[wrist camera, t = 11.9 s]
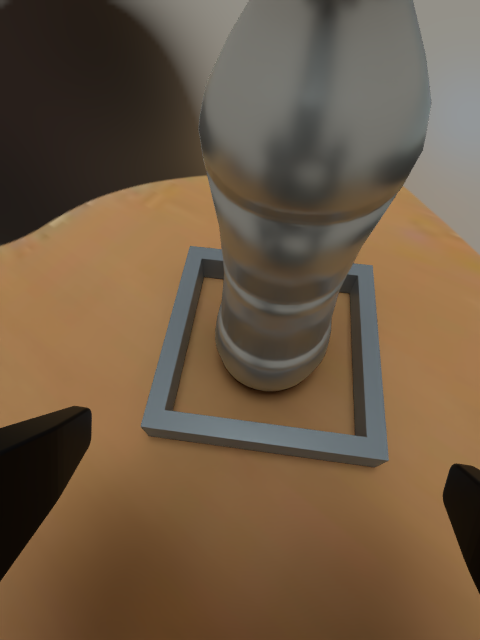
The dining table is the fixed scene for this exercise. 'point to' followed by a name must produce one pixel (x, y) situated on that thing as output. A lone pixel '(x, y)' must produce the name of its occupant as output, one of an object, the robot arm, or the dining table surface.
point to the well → (260, 436)
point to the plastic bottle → (305, 166)
